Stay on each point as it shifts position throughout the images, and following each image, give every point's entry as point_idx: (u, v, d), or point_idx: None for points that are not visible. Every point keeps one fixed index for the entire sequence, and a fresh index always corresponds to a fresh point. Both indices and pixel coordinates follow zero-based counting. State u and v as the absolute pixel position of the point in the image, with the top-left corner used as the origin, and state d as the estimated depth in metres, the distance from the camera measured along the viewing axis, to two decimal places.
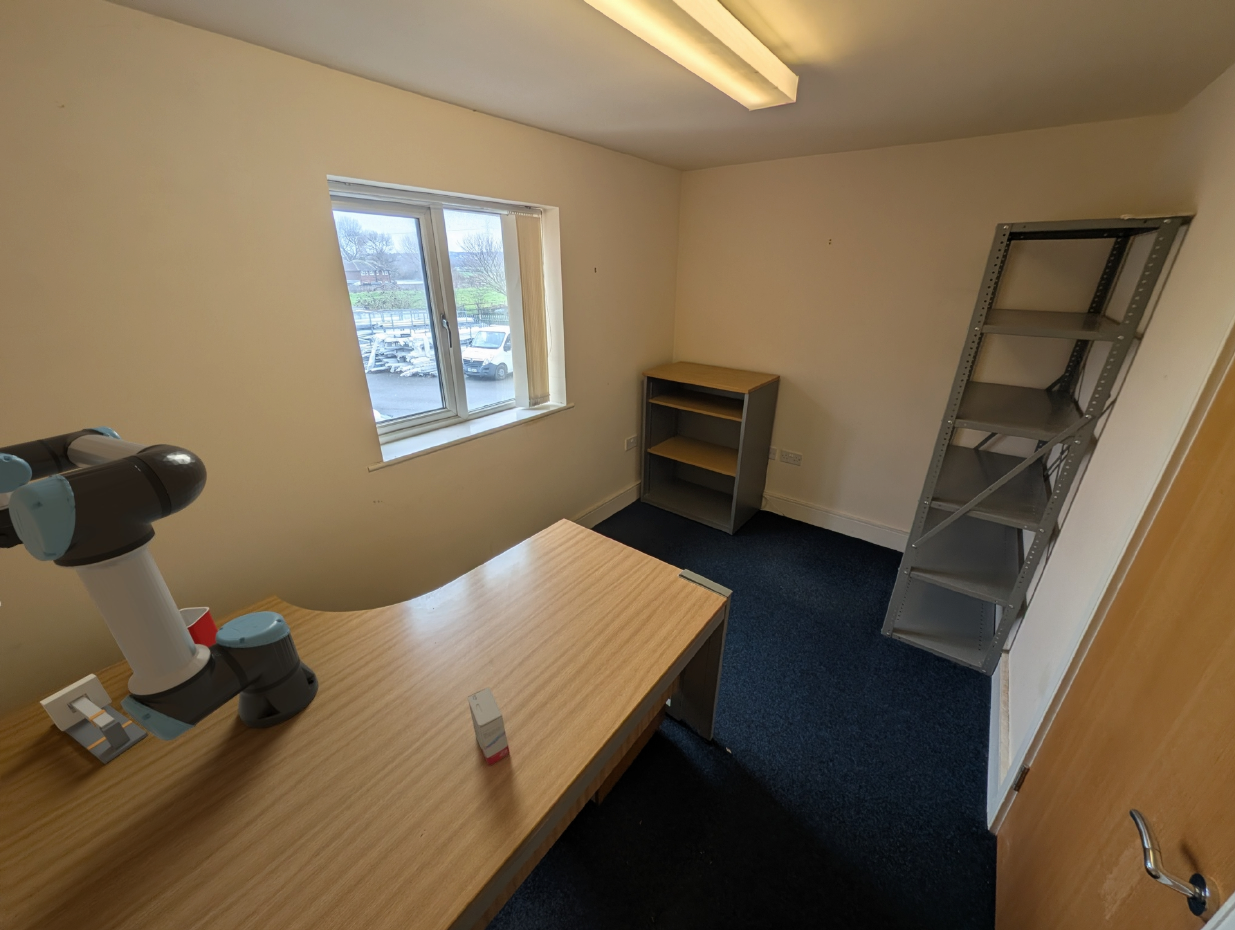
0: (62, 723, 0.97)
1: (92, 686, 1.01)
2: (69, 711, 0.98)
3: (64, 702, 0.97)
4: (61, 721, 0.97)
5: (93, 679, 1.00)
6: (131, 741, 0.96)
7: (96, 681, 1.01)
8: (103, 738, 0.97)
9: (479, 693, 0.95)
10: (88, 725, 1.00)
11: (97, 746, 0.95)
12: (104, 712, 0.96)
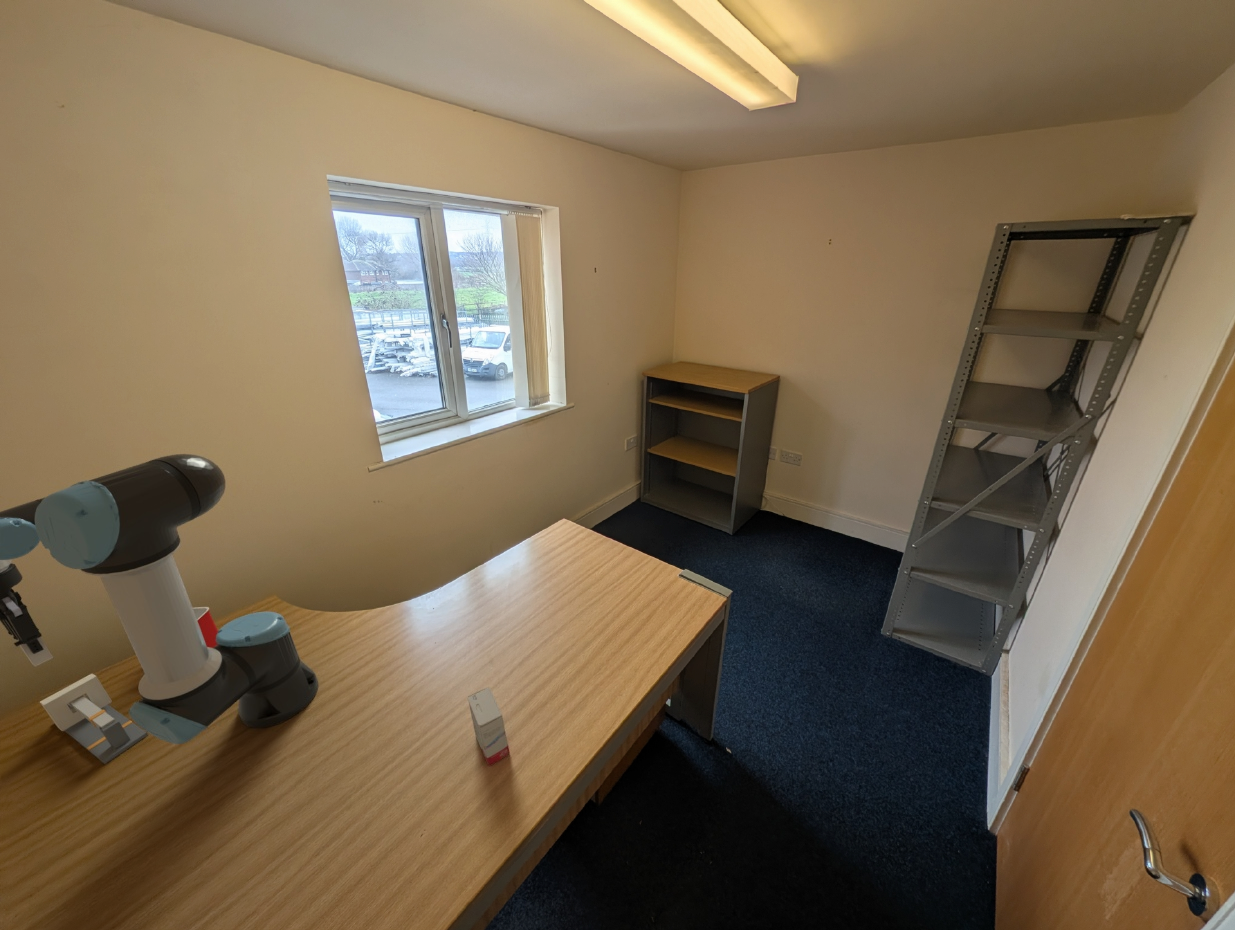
0: (62, 723, 0.97)
1: (92, 686, 1.01)
2: (69, 711, 0.98)
3: (64, 702, 0.97)
4: (61, 721, 0.97)
5: (93, 679, 1.00)
6: (131, 741, 0.96)
7: (96, 681, 1.01)
8: (103, 738, 0.97)
9: (479, 693, 0.95)
10: (88, 725, 1.00)
11: (97, 746, 0.95)
12: (104, 712, 0.96)
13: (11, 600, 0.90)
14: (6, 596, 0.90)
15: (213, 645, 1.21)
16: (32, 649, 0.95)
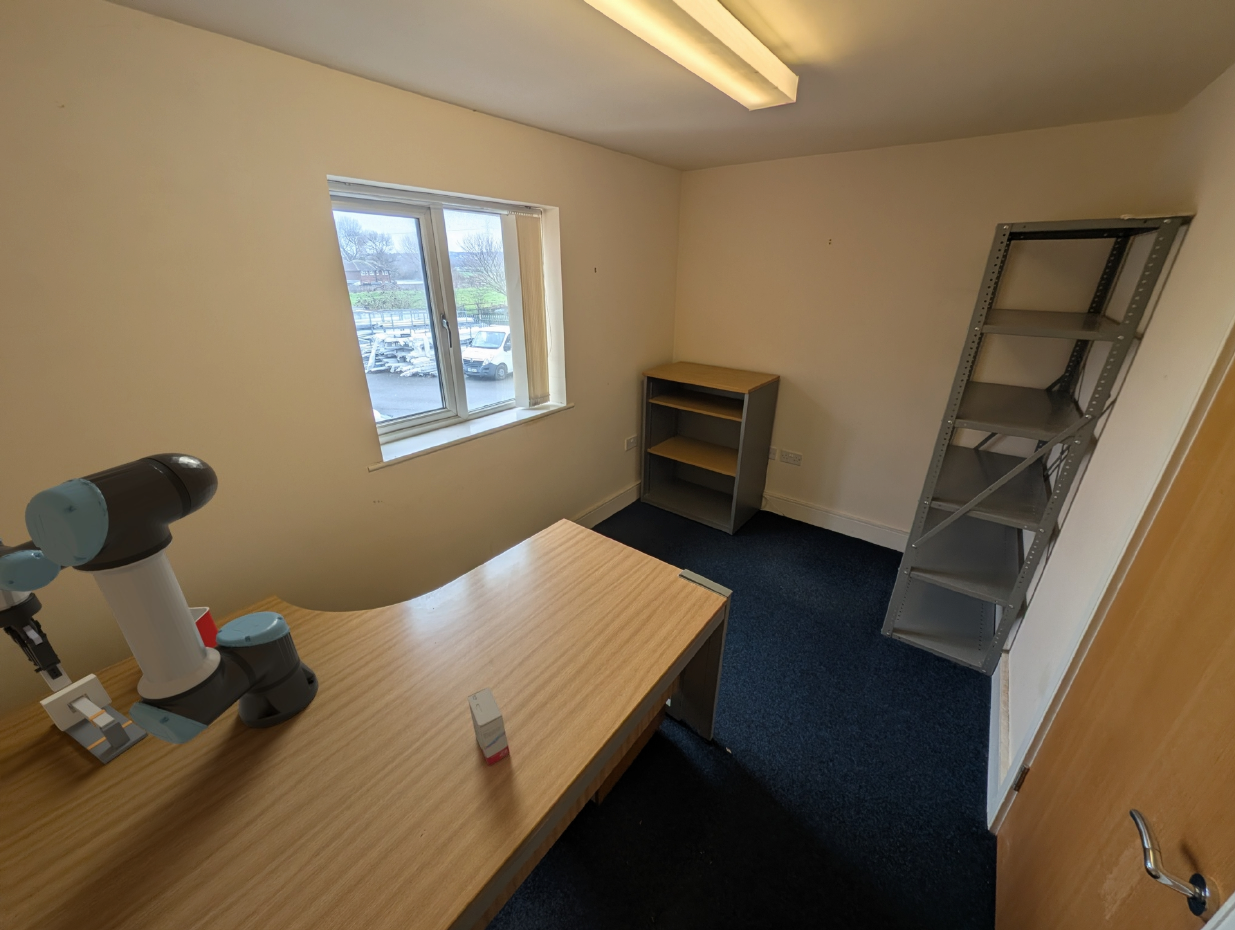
0: (62, 723, 0.97)
1: (92, 686, 1.01)
2: (69, 711, 0.98)
3: (64, 702, 0.97)
4: (61, 721, 0.97)
5: (93, 679, 1.00)
6: (131, 741, 0.96)
7: (96, 681, 1.01)
8: (103, 738, 0.97)
9: (479, 693, 0.95)
10: (88, 725, 1.00)
11: (97, 746, 0.95)
12: (104, 712, 0.96)
13: (32, 629, 0.92)
14: (27, 625, 0.92)
15: (213, 645, 1.21)
16: (52, 675, 0.98)
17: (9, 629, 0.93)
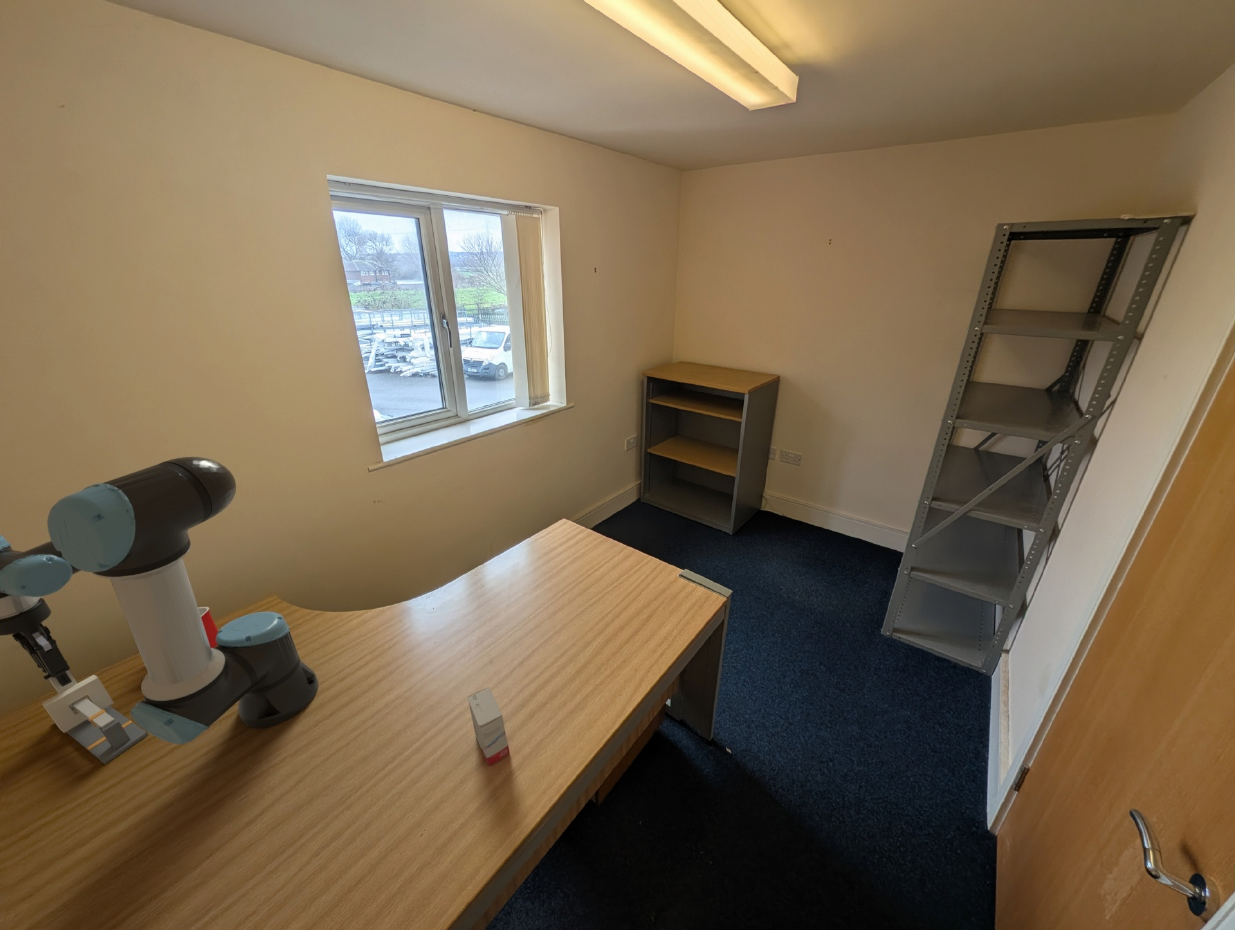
0: (64, 724, 0.97)
1: (94, 687, 1.00)
2: (71, 712, 0.97)
3: (66, 703, 0.97)
4: (63, 722, 0.97)
5: (95, 680, 1.00)
6: (131, 741, 0.96)
7: (98, 682, 1.01)
8: (103, 738, 0.97)
9: (479, 693, 0.95)
10: (88, 725, 1.00)
11: (97, 746, 0.95)
12: (104, 712, 0.96)
13: (41, 635, 0.91)
14: (36, 631, 0.90)
15: (213, 645, 1.21)
16: (61, 682, 0.96)
17: (18, 635, 0.91)
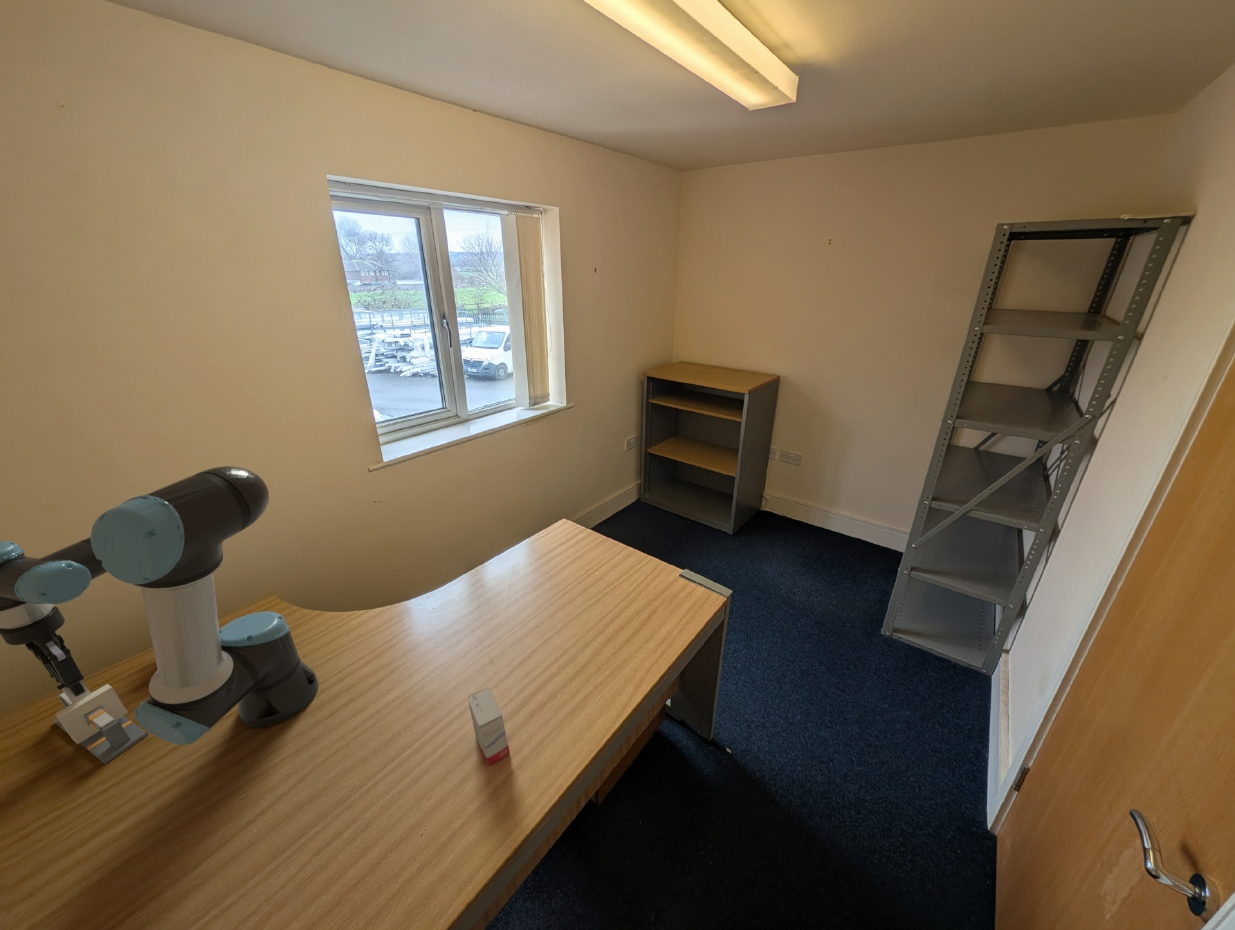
0: (78, 735, 0.95)
1: (108, 697, 0.98)
2: (84, 723, 0.95)
3: (79, 714, 0.94)
4: (76, 734, 0.94)
5: (109, 690, 0.98)
6: (131, 741, 0.96)
7: (112, 692, 0.98)
8: (103, 738, 0.97)
9: (479, 693, 0.95)
10: None
11: (97, 746, 0.95)
12: (104, 712, 0.96)
13: (55, 644, 0.89)
14: (50, 640, 0.88)
15: None
16: (74, 692, 0.94)
17: (31, 645, 0.89)
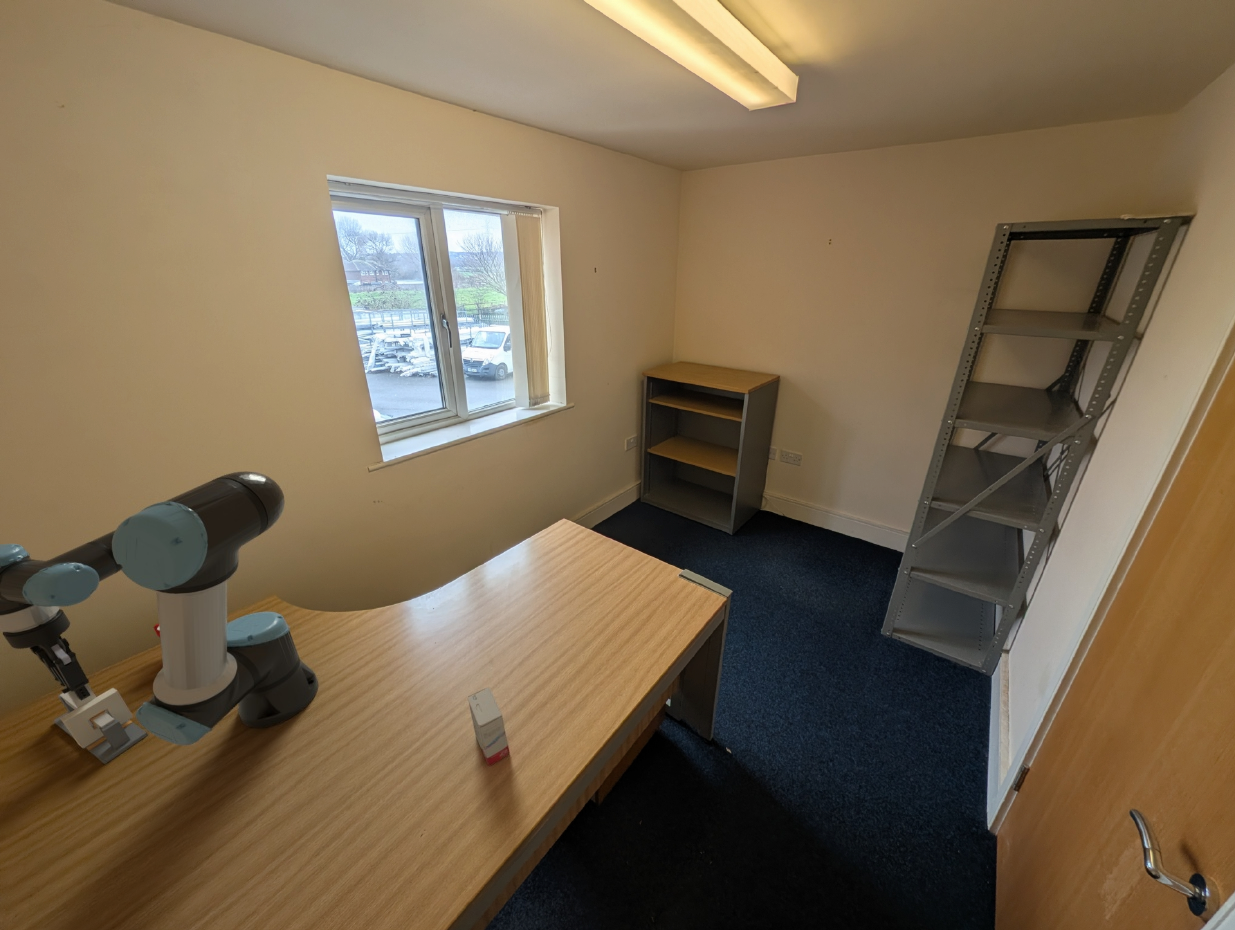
0: (83, 740, 0.94)
1: (113, 701, 0.97)
2: (90, 727, 0.94)
3: (85, 718, 0.93)
4: (82, 738, 0.93)
5: (114, 693, 0.97)
6: (131, 741, 0.96)
7: (117, 696, 0.97)
8: (103, 738, 0.97)
9: (479, 693, 0.94)
10: None
11: (97, 746, 0.95)
12: (104, 712, 0.96)
13: (60, 648, 0.88)
14: (55, 644, 0.87)
15: None
16: (79, 696, 0.93)
17: (36, 648, 0.88)
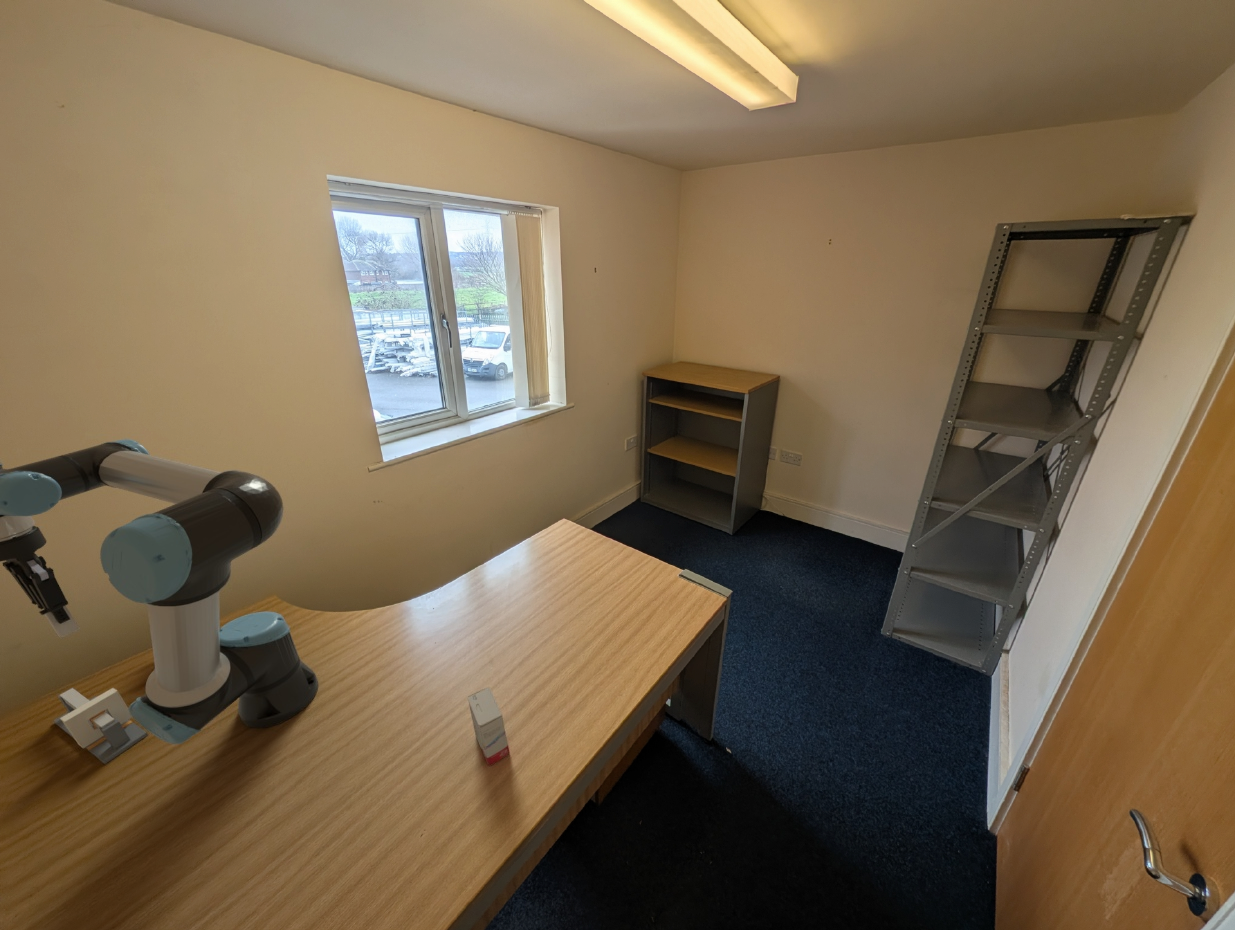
0: (83, 740, 0.94)
1: (113, 701, 0.97)
2: (90, 727, 0.94)
3: (85, 718, 0.93)
4: (82, 738, 0.93)
5: (114, 693, 0.97)
6: (131, 741, 0.96)
7: (117, 696, 0.97)
8: (103, 738, 0.97)
9: (479, 693, 0.95)
10: None
11: (97, 746, 0.95)
12: (104, 712, 0.96)
13: (37, 563, 0.85)
14: (31, 559, 0.84)
15: None
16: (58, 618, 0.90)
17: (11, 565, 0.85)
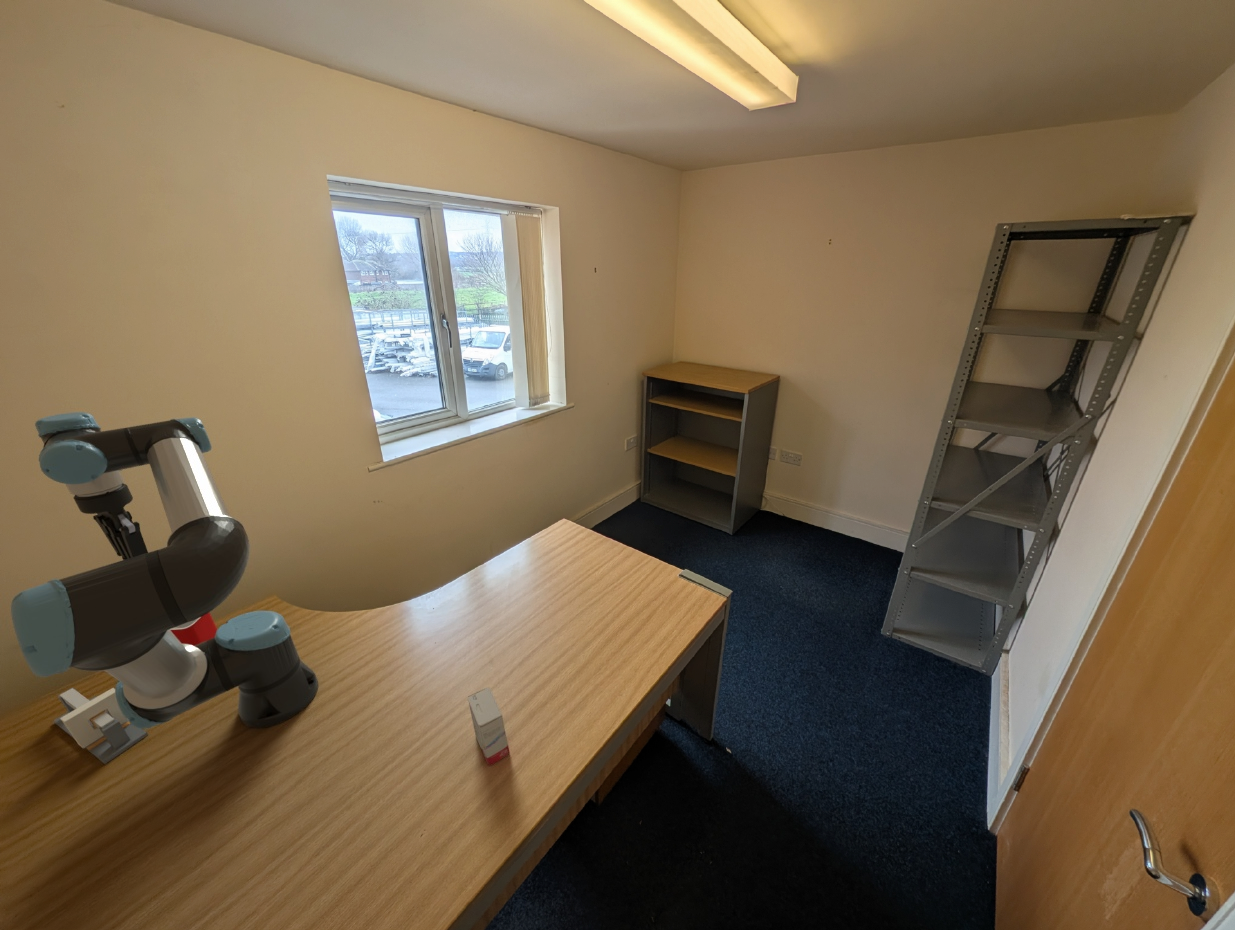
0: (83, 740, 0.94)
1: (113, 701, 0.97)
2: (90, 727, 0.94)
3: (85, 718, 0.93)
4: (82, 738, 0.93)
5: (114, 693, 0.97)
6: (131, 741, 0.96)
7: None
8: (103, 738, 0.97)
9: (479, 693, 0.95)
10: None
11: (97, 746, 0.95)
12: (104, 712, 0.96)
13: (125, 517, 0.92)
14: (120, 513, 0.92)
15: None
16: None
17: (102, 518, 0.93)
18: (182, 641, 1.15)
